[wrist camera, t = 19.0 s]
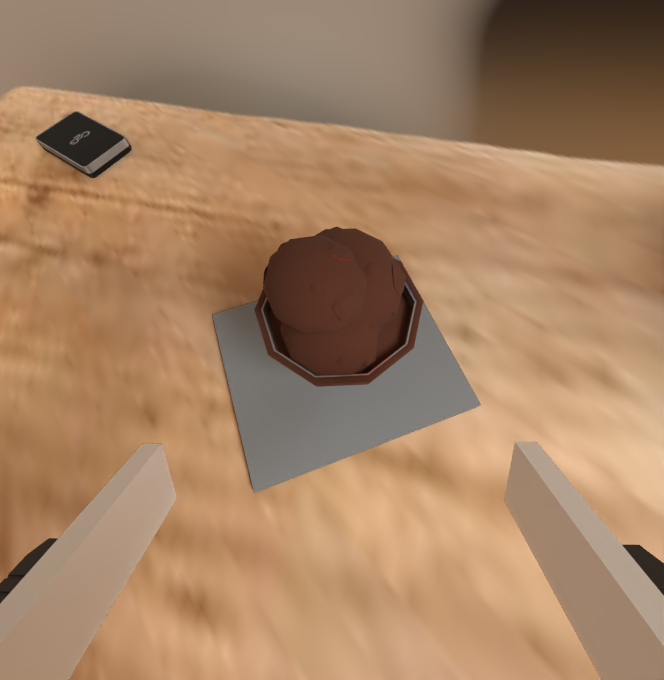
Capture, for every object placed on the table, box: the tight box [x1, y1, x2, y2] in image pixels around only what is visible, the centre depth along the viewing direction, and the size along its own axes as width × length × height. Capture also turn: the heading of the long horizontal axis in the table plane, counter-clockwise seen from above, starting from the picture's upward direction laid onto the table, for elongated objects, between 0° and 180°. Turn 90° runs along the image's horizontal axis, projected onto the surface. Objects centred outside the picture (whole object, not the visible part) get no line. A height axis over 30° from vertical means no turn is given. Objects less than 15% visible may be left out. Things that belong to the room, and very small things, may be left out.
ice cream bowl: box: [254, 227, 423, 387], centre depth 24 cm, size 11×11×15 cm
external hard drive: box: [35, 111, 131, 178], centre depth 44 cm, size 7×11×2 cm, turn 55°
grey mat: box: [212, 255, 481, 493], centre depth 31 cm, size 20×17×1 cm
